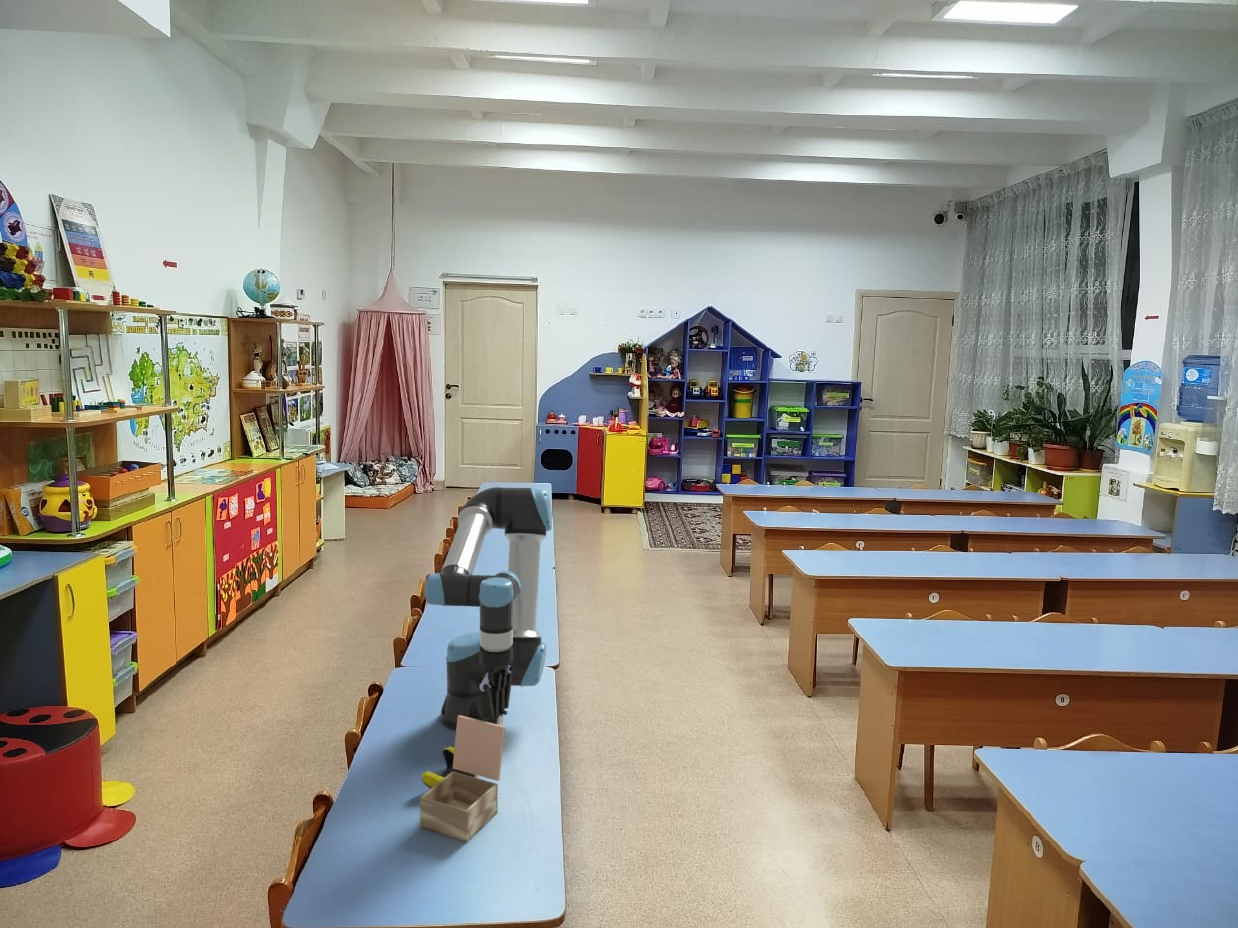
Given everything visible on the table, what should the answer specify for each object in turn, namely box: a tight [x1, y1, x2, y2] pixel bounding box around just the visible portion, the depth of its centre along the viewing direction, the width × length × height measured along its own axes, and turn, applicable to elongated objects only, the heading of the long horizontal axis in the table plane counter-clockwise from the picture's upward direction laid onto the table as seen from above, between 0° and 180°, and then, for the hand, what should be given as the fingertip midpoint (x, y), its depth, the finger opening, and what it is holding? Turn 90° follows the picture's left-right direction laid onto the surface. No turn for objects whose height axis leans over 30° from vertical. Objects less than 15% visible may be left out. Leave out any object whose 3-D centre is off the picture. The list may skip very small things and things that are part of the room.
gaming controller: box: [421, 746, 478, 790], centre depth 197 cm, size 15×6×10 cm
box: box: [419, 771, 499, 843], centre depth 182 cm, size 12×12×7 cm
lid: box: [453, 715, 506, 782], centre depth 188 cm, size 12×12×1 cm
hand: (495, 741), depth 194 cm, fingers closed
